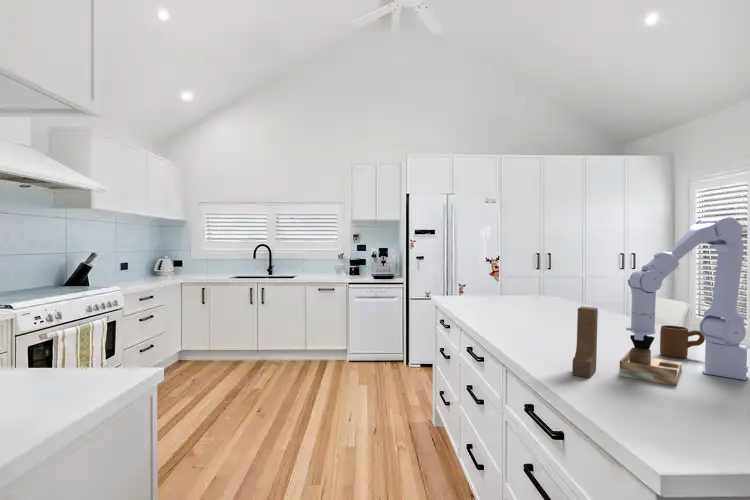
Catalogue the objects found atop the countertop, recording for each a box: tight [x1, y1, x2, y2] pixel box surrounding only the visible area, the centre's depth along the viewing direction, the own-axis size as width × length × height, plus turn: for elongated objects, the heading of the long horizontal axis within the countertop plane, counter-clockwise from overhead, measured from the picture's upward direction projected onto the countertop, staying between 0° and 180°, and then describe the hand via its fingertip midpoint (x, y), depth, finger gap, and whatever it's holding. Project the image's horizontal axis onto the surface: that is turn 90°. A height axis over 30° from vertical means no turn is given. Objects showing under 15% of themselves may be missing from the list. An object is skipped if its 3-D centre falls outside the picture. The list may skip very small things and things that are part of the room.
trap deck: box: [618, 347, 683, 387], centre depth 127 cm, size 13×20×4 cm, turn 142°
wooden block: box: [571, 306, 599, 379], centre depth 124 cm, size 9×4×18 cm, turn 144°
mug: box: [659, 324, 706, 359], centre depth 146 cm, size 12×8×9 cm, turn 57°
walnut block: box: [629, 347, 652, 366], centre depth 124 cm, size 4×4×4 cm
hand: (641, 361), depth 126 cm, fingers closed
